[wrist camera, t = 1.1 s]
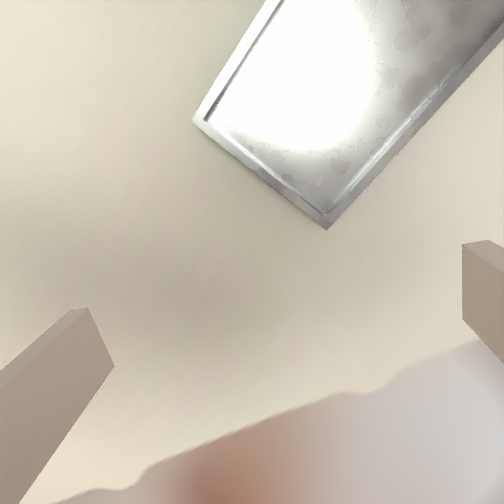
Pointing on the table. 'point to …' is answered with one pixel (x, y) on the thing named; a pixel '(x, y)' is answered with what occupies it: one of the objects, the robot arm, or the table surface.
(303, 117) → the grey serving tray
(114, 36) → the table surface
